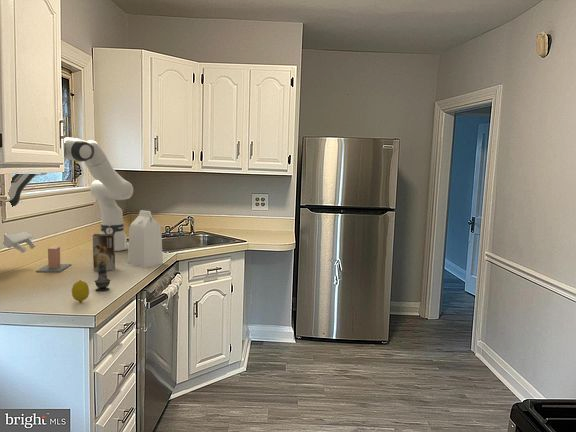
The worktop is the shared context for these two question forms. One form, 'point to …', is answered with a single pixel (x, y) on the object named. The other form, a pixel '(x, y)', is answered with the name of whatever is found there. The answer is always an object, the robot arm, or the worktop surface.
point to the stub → (53, 257)
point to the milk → (145, 241)
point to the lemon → (80, 291)
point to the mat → (59, 269)
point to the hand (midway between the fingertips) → (29, 249)
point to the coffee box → (104, 250)
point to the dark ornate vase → (102, 278)
